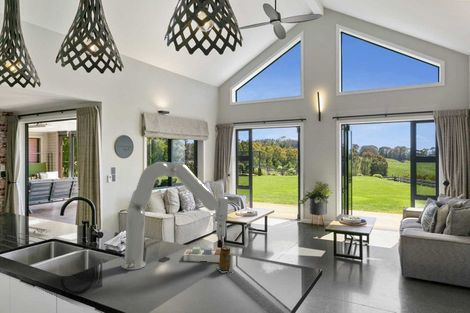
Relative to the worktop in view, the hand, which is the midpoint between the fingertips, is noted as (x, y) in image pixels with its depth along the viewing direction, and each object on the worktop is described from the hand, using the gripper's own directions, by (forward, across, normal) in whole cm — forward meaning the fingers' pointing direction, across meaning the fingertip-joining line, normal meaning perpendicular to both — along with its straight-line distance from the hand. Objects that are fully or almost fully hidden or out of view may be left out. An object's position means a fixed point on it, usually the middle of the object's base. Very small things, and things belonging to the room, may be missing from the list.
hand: (219, 247), depth 179 cm
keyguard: (+7, 0, +8) cm, 11 cm away
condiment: (+8, -17, -4) cm, 19 cm away
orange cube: (+5, 0, 0) cm, 5 cm away
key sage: (+5, 0, +14) cm, 15 cm away
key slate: (+5, 0, +7) cm, 8 cm away
